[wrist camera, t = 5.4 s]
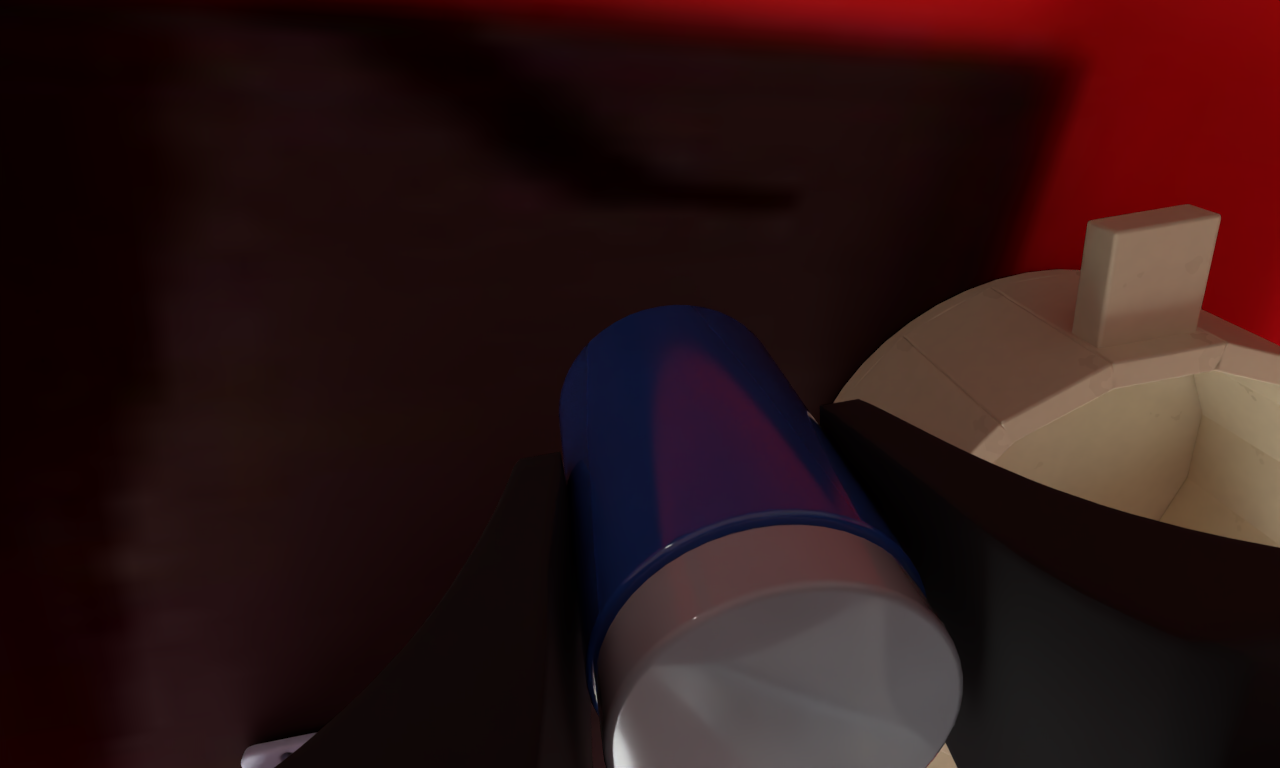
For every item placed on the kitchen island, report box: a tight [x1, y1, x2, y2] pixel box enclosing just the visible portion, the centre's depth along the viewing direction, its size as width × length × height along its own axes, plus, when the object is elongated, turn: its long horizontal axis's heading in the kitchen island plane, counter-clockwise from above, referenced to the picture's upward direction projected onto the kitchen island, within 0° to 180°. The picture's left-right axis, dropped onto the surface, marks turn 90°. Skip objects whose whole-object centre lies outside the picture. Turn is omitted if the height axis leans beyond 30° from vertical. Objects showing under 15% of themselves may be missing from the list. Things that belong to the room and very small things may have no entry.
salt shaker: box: [559, 305, 963, 768], centre depth 11 cm, size 4×4×7 cm
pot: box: [833, 204, 1280, 756], centre depth 23 cm, size 13×19×6 cm
